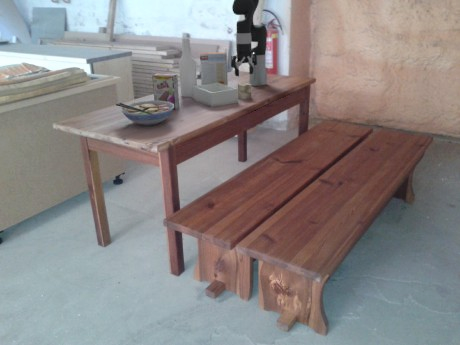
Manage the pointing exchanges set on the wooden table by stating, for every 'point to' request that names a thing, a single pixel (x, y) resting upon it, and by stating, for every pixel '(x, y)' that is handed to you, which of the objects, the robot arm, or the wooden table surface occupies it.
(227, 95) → the bin
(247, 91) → the birch block
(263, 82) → the robot arm
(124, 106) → the ramen bowl
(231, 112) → the wooden table surface
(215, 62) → the cracker box
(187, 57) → the alcohol
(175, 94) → the candy bar box
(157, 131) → the wooden table surface
